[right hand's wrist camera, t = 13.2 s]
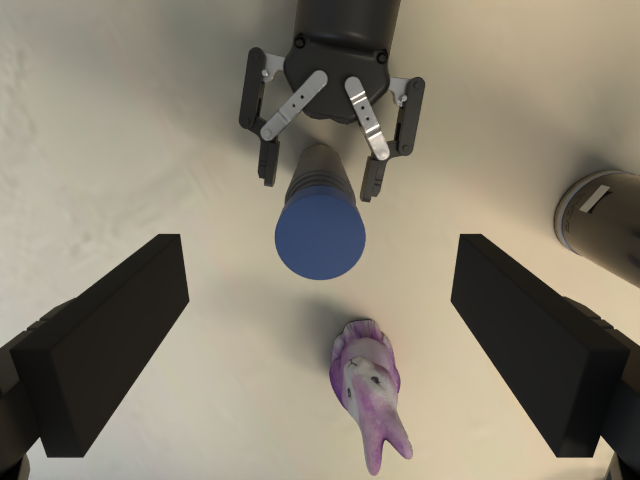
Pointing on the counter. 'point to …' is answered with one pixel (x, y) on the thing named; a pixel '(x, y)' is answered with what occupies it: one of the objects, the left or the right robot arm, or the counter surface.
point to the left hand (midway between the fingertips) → (317, 192)
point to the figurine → (369, 388)
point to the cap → (320, 233)
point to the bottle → (320, 172)
